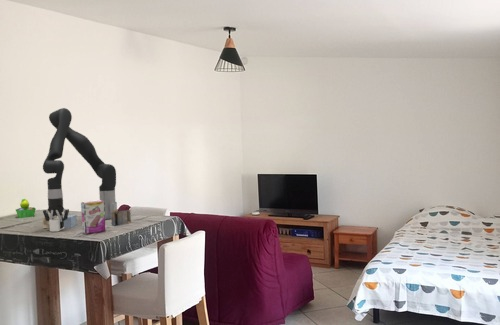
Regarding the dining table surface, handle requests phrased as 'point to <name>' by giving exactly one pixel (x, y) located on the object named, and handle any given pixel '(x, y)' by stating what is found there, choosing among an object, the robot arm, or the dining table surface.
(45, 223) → the oak block
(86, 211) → the candy bar box
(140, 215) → the dining table surface
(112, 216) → the architectural model on board
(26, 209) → the fruit basket
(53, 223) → the white block
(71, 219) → the blue block
